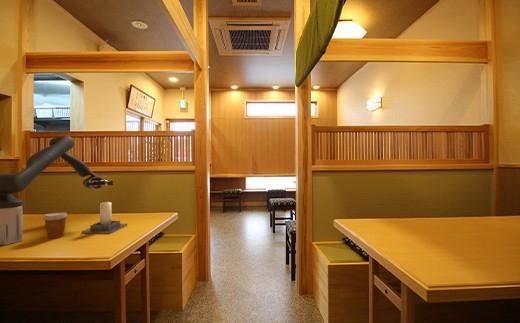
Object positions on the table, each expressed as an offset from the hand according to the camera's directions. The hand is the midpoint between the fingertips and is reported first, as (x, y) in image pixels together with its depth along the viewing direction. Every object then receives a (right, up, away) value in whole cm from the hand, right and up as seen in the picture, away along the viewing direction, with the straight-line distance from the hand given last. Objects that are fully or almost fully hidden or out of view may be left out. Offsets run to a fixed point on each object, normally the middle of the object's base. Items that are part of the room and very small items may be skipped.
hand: (101, 183), depth 146 cm
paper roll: (+7, -24, -7) cm, 27 cm away
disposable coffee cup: (-10, -26, -21) cm, 35 cm away
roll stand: (+7, -26, -8) cm, 28 cm away
